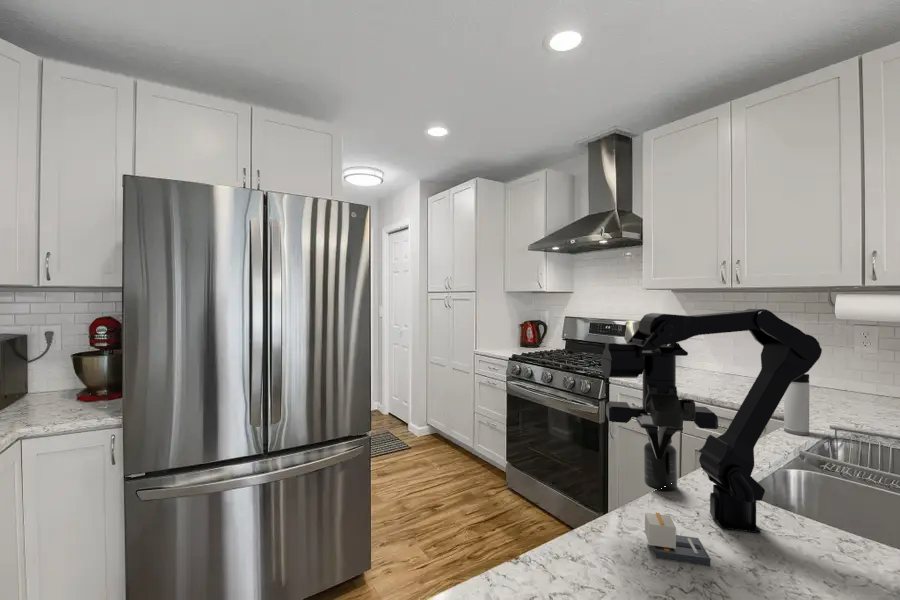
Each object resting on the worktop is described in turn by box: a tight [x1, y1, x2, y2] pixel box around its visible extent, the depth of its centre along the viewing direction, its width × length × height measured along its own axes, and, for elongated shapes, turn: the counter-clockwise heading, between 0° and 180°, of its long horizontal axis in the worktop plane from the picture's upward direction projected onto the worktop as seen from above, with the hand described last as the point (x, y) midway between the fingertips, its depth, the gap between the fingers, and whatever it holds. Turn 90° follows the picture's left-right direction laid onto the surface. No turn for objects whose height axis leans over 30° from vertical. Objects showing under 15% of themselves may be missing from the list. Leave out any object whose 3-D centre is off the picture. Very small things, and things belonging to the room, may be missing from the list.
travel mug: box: [783, 373, 810, 436], centre depth 135 cm, size 6×7×20 cm
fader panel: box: [650, 534, 711, 567], centre depth 71 cm, size 8×6×1 cm
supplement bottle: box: [643, 430, 678, 492], centre depth 96 cm, size 7×7×12 cm
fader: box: [644, 512, 677, 549], centre depth 72 cm, size 4×4×4 cm
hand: (658, 458), depth 81 cm, fingers closed
